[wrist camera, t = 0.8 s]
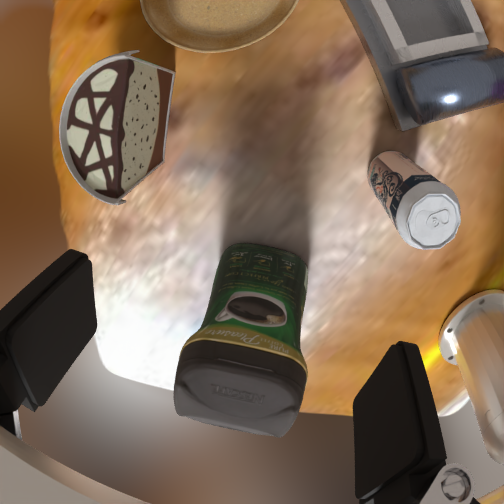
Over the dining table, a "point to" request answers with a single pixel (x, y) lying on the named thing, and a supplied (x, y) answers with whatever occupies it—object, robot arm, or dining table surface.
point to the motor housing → (428, 57)
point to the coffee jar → (248, 345)
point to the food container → (116, 125)
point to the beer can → (414, 201)
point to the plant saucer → (215, 22)
